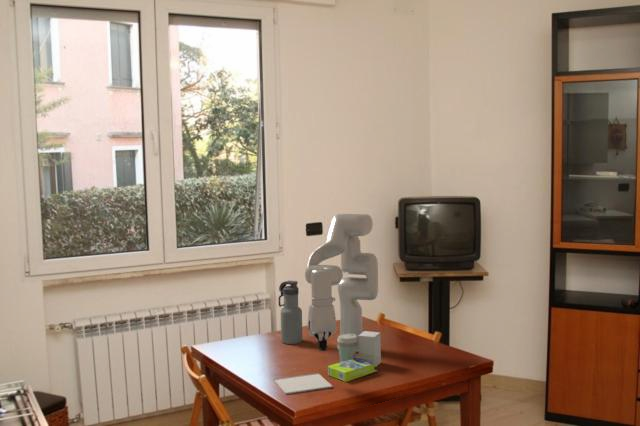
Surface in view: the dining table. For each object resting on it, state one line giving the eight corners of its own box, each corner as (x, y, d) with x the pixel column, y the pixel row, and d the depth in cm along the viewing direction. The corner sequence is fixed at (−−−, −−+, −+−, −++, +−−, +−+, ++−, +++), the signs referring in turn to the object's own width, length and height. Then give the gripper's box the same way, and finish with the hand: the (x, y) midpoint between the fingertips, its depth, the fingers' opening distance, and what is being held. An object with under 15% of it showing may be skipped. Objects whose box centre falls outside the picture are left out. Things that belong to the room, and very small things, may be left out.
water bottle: (276, 342, 298) (274, 282, 296) (288, 337, 306) (287, 278, 304) (294, 345, 293) (293, 284, 290) (306, 340, 301) (305, 280, 299)
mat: (318, 374, 254) (318, 373, 254) (333, 387, 239) (333, 386, 239) (273, 380, 248) (273, 379, 248) (286, 394, 233) (286, 393, 233)
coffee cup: (352, 369, 259) (351, 340, 258) (333, 366, 264) (333, 337, 263) (362, 363, 266) (361, 334, 265) (344, 360, 271) (343, 332, 270)
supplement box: (381, 362, 267) (381, 332, 266) (375, 367, 261) (374, 337, 260) (364, 360, 271) (364, 330, 269) (358, 365, 264) (357, 335, 263)
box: (327, 365, 252) (360, 355, 263) (327, 375, 253) (360, 365, 264) (345, 372, 244) (378, 361, 255) (345, 383, 245) (378, 372, 256)
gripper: (336, 298, 250) (337, 345, 251) (299, 301, 245) (300, 349, 246) (344, 302, 243) (344, 350, 244) (306, 306, 238) (307, 355, 239)
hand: (322, 349), depth 245 cm, fingers closed
